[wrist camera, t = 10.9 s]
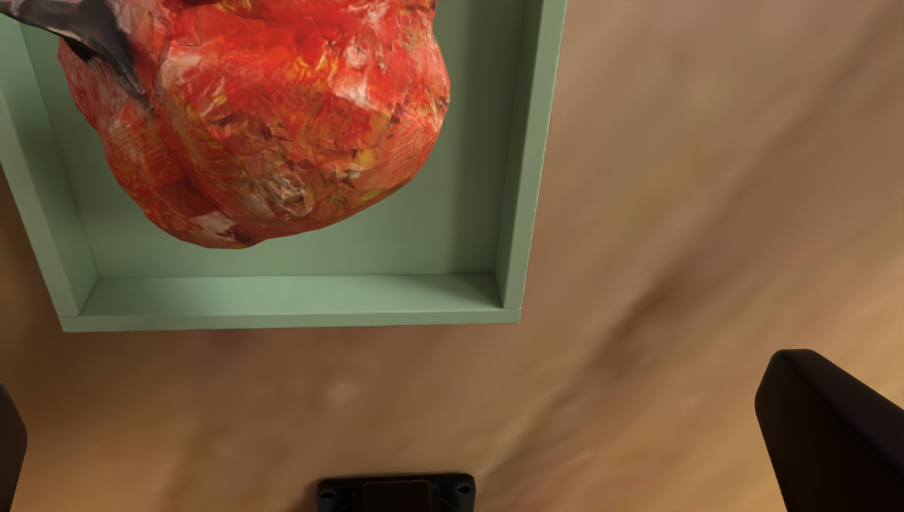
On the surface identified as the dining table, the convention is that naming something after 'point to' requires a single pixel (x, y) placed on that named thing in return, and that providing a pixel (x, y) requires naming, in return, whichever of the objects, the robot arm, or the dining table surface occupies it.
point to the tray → (314, 252)
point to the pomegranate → (252, 105)
